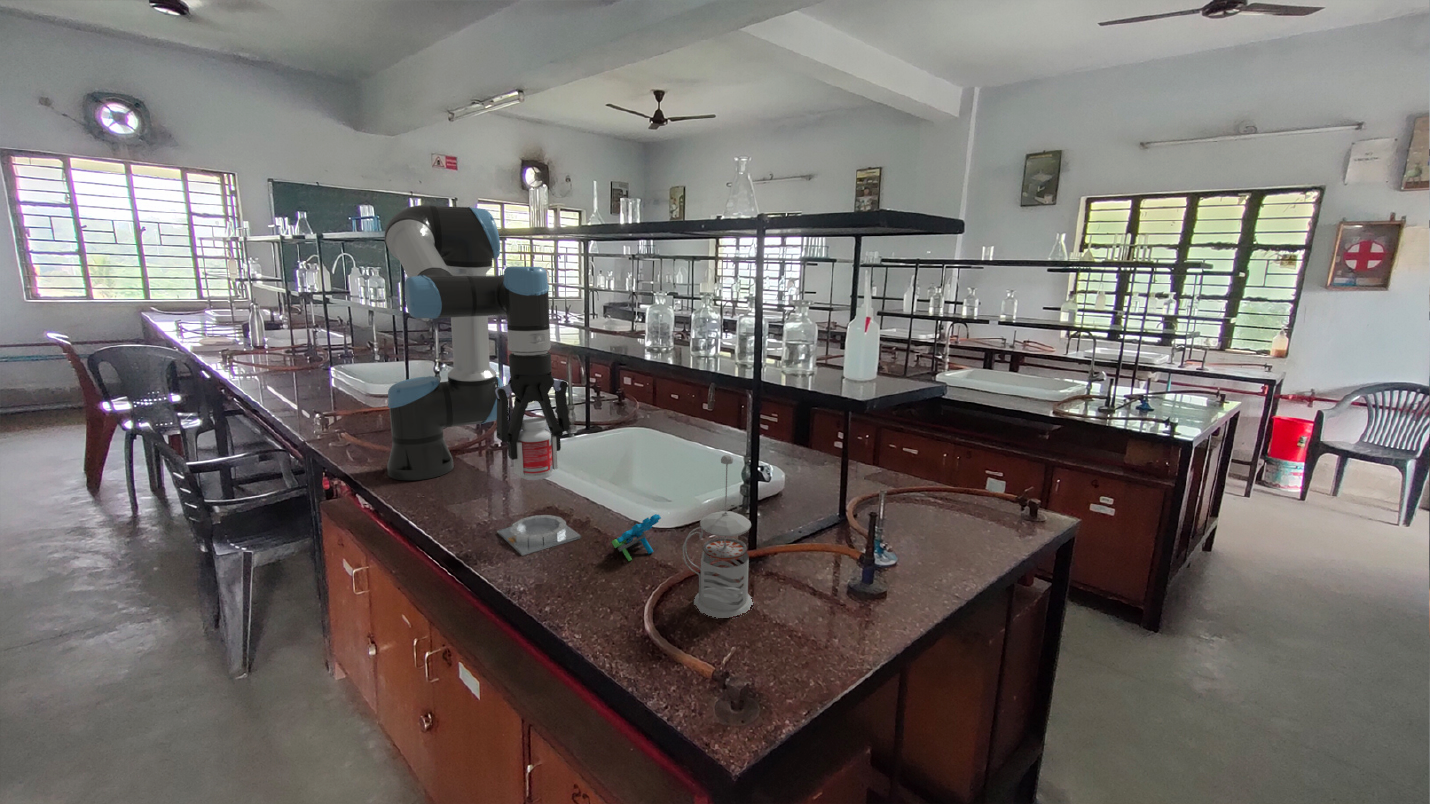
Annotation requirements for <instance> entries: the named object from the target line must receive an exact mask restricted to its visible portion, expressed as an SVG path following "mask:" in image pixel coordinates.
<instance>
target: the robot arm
mask: <svg viewBox="0 0 1430 804" xmlns="http://www.w3.org/2000/svg"><path fill="white" fill-rule="evenodd" d="M384 241H385V244H386V247H387V249H388V251H389V253H391V255H392V256H393V257H394V258H395V259H397V260H398V261H399V262H400V264H401V265H402V266H401V267H402V268H403V271H404V273H405V274H406V276H407V278H406V279H405V281H404V297H405V298H404V299H405V304H406V308H407V312H408V314H409V316H411V317H412V318H414V319H429V320H434V319H445V318H450V325H451V341H452V358H453V359H452V360H453V367H452V369H450V370H449V372H447V381H440V379H439V378H438V377H437V376H434V375H433V376H431V375H429V376H418V377H413V378H409V379H405V380H401V381H398V382H395V383H394V384H392V385H391V386H390V387H389V389H388V390H387V401H388V402H387V407H388V408H389V409H388V410H389V419H390V430H391V441H392V446H391V450H390V454H389V458H388V461H387V465H386V467H387V469H386V471H387V476H388V477H389V478H390V479H393V480H398V481H422V480H428V479H433V478H437V477H440V476H444V475H446V474H448V473H450V472H451V471H452V470H453V469H454V468H455V467H454V459H453V455H452V454H451V452H450V450H449V447H448V445H447V442H446V441H445V439H444V438H445V437H444V429H446V428H452V427H453V428H454V427H461V426H462V427H463V426H469V425H470V426H471V425H478V424H479V425H480V424H481V425H483V424H485V423H490V422H495V421H496V438H497V439H498V440H499V441H501V442H502V443H507V456H508V458H509V459H511V460H512V461H513V473H514V474H515V475H517V476H518V477H519V478H522V476H524V473H523V455H522V443H521V442H519V441H518V437H519V433H520V432H521V430H522V429H521V425H522V421H523V419H524V416H525V414H526V409H527V408H528V406H529V403H533V402H538V404H539V405H540V408H541V411H542V413H543V416H544V417H543V418H545V419H546V422H547V427H548V431H549V432H550V433H551V444H552V465H553V470H558V452H559V451H561V448H562V447H561V444H562V443H561V437H563V435H564V432H569V430H570V421H569V420H570V419H569V410H568V403H567V402H568V401H567V394H566V393H567V390H568V385H569V384H568V381H566V380H563V379H554V377H553V375H552V370H553V369H552V368H553V367H552V354H551V352H549V351H550V350H551V346H552V343H551V328H550V327H551V326H550V325H551V324H550V322H551V321H550V301H549V300H550V297H549V295H550V294H549V291H550V285H549V280H548V273H547V270H546V268H544V267H543V266H527V265H526V266H519V265H518V266H507V267H505V269H504V270H503V274H500V275H487V273H488V272H489V271H490V270H491V269H492V268H493V260H495V259H497V258H499V257H500V254H501V241H500V235H499V230H498V226H497V224H496V222H495V218H494V217H493V215H492V213H491V212H489V210H487V209H484V208H478V207H471V206H449V205H446V206H443V205H429V204H419V205H413V206H409V207H407V208H404V209H402V210H401V211H399V212H397V213H396V214H395V215H393V216H392V217H391V219H390V220H389V221H388V223H387V224H386V227H385V230H384ZM497 316H505V317H506V328H507V329H506V332H507V350H508V351H510V352H511V353H510V354H509V355H508V366H509V380H508V383H507V384H505V385H504V382H503V380H502V378H501V377H499V376H497V371H495V370H494V369H493V368H492V367H491V366H490V364H491V363H490V342H489V341H490V340H489V339H490V338H489V337H490V336H489V317H497ZM552 387H553V390H554V399H555V408H556V413H555V411H554V409H553V406H552V404H551V403H552V401H551V399H550V395H549V392H550V391H551V389H552ZM510 392H512V393H513V395H515V396H514V402H513V410H512V413H511V418H510V421H509V400H508V399H509V398H510Z"/></svg>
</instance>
